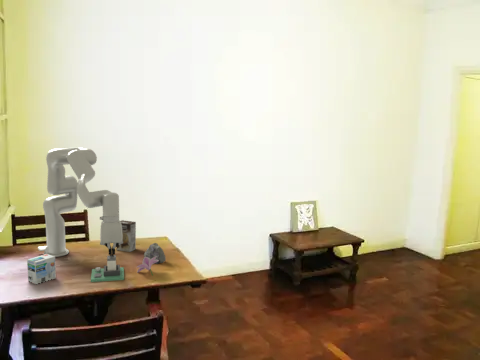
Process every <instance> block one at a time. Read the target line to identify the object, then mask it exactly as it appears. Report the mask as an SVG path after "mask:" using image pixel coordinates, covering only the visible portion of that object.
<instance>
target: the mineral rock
mask: <svg viewBox="0 0 480 360" xmlns="http://www.w3.org/2000/svg"><path fill="white" fill-rule="evenodd" d="M155 256H157V257H156V258H155V260H159V261H158V262H156V263H155V264H157V265H158V264H163V263H165V262H166V259H167V258H166V254H165V251H164V250H163V248H162V247H161V246H160V245H159V244H158V243H157V242H154V243H151V244H150V245H149V247H148V248H147V249H146V250H145V252H144V254H143V258H144V257H148V258H150V259H152V258H153V257H155Z"/></svg>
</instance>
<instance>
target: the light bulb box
mask: <svg viewBox="0 0 480 360" xmlns="http://www.w3.org/2000/svg"><path fill="white" fill-rule="evenodd" d="M56 269H57V268H56V257H55V256H52V255H49V254H44V253H43V254H42V255H38V256H35V257H31V258H28V259H27V281H28V282H29V281H30V282H29V283H31V282H33V283H32V284H34V283H35V284H34V285H36V284H37V285H39V284H38V283H40V284H42V283H41V282H43V283H46V282H49V281H52V280H54V279H57V278H56V276H57V274H56V271H57V270H56ZM51 279H52V280H51ZM48 280H49V281H48ZM45 281H46V282H45Z"/></svg>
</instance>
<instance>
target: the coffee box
mask: <svg viewBox="0 0 480 360" xmlns="http://www.w3.org/2000/svg"><path fill="white" fill-rule="evenodd" d="M120 221H121V224H122V235H123V239H122V240H123V244H120V245H118V246H117V247H116V251H122V252H127V253H131V252H133V251H134V250H136V248H137V247H136V245H137V244H136V242H137V240H136V238H137V237H136V236H137V235H136V232H137V230H136V229H137V228H136V227H137V226H136V225H137V224H136V221H130V220H124V219H121V220H120Z"/></svg>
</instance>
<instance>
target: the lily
mask: <svg viewBox="0 0 480 360" xmlns="http://www.w3.org/2000/svg"><path fill="white" fill-rule="evenodd" d="M156 257H157V256H155V257H153V258H152V259H150V258H148V257H144V256H143V258H142V263H141V264H138V265H137V266H136V268H137V269H138V270H137V271H136V273H140V272H141V271H143V270H145V269H146V270H147V271H150V273H151V275H152V276H153V272H152V270H151V269H152V265H154V264H157V263H156V262H158V261H159V260H155V258H156Z"/></svg>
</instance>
